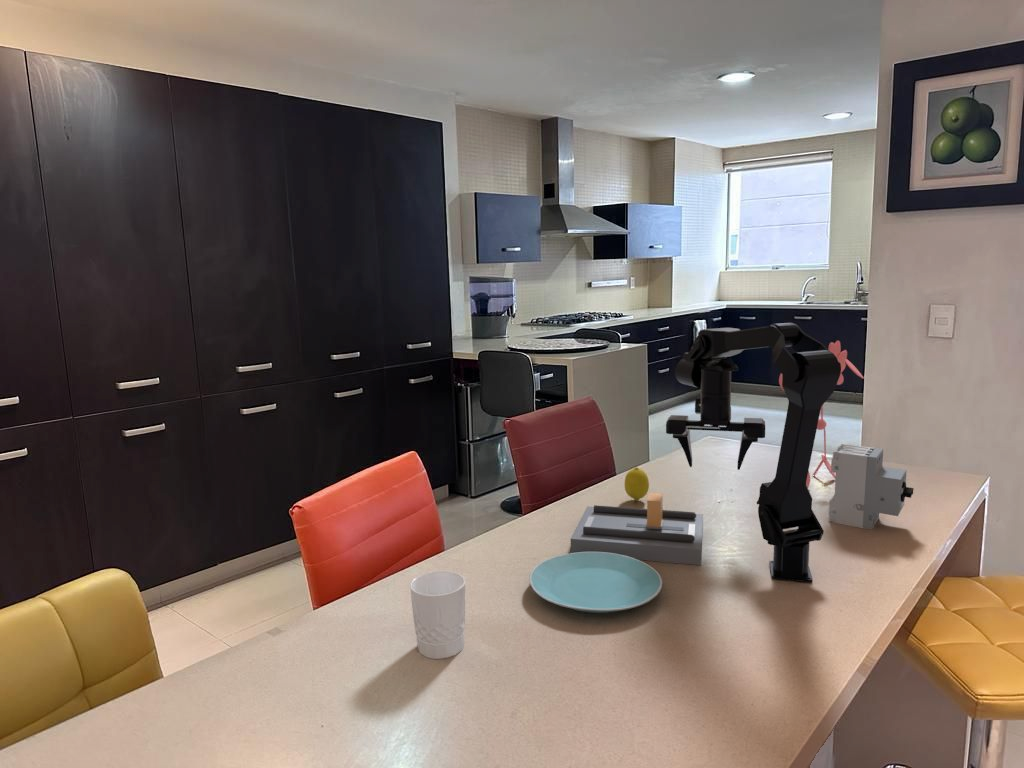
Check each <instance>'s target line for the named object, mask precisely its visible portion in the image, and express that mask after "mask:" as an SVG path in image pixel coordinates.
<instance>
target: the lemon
mask: <svg viewBox="0 0 1024 768" xmlns="http://www.w3.org/2000/svg"><path fill="white" fill-rule="evenodd" d="M649 488H650V482H649V477H648V475H647V472H645V471H644V470H643V469H640V468H639V467H634V468H633V469H631V470H629V471H628V472H627V473H626V475H625V478H624V491H625V492H626V495H628V496H629V497H630V498H631V499H633V500H634V501H636V502H637V501H640V500H641V499H642V498H645V496H646V495H647V494H648V492H649V490H650V489H649Z"/></svg>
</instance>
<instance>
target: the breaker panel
mask: <svg viewBox="0 0 1024 768" xmlns="http://www.w3.org/2000/svg"><path fill="white" fill-rule="evenodd" d="M695 514H696V518H695V519H683V518H669V517H662V520H663V527H662V529H651V528H646V524H647V516H641V515H627V514H614V513H600V512H594V506H586V508H585V510H584V512H583V514H582V516H581V518H580V519H579V521H578V523H577V525H576V527H575V529H574V532H573V534H572V536H571V537H570V553H577V552H607V553H614V554H620V555H624V556H628V557H631V558H634V559H637V560H640V561H647V562H648V561H651V562H660V563H661V562H662V563H674V564H684V565H697V566H702V561H703V560H702V556H703V555H702V553H703V533H704V513H703V514H700V513H695ZM584 526H585V527H598V528H611V529H623V530H636V531H649V532H662V533H675V534H687V535H693V536H694V538H695V540H694V541H693V542H678V541H666V540H654V539H641V538H629V537H617V536H604V535H592V534H583V527H584Z"/></svg>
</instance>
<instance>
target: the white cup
mask: <svg viewBox="0 0 1024 768" xmlns="http://www.w3.org/2000/svg"><path fill="white" fill-rule="evenodd" d="M409 588H410V599H411V606H412V607H411V608H412V616H413V617H412V618H413V622H414V631H415V635H416V636H415V637H416V644H417V650H418V652H419V653H420V654H421V655H422V656H424V657H425V658H428V659H433V660H439V659H442V660H443V659H447V658H450V657H451V658H452V657H454V656H456V655H457V654H459V653H460V652H461V651H462V650H464V649H463V648H464V646H465V627H466V578H465V577H464V576H463V575H461V574H460V573H458V572H455V571H451V570H450V571H449V570H434V571H429V572H425V573H423V574H420V575H418V576H416V577H414V578H413V579H412V580H411V581H410V584H409Z"/></svg>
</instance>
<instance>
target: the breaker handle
mask: <svg viewBox="0 0 1024 768" xmlns="http://www.w3.org/2000/svg"><path fill="white" fill-rule="evenodd" d="M663 497H664V495H663V493H657V492H656V493H655V492H649V493H648V497H647V499H646V504H647V505H646V509H647V524H646V528H651V529H662V527H663V520H662V515H663V510H664V509H663V505H664V503H663V501H664V499H663Z"/></svg>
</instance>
